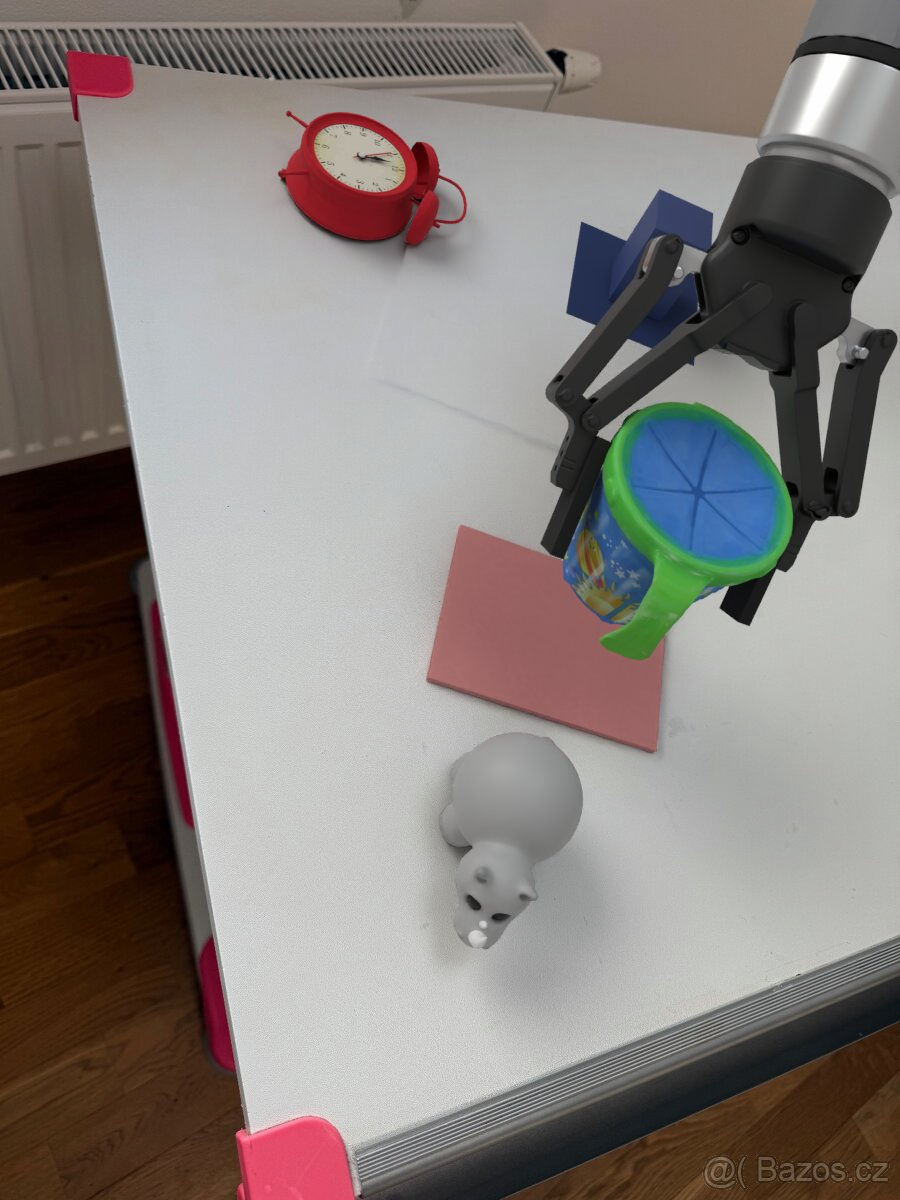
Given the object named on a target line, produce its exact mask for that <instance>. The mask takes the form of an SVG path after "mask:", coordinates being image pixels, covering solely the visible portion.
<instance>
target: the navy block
mask: <svg viewBox="0 0 900 1200" xmlns="http://www.w3.org/2000/svg"><path fill="white" fill-rule="evenodd" d="M713 225H714V213H713V212H711V211H710V210H708V209H706V208H703V207H701V206H698V205H696V204H694V203H692V202H689V201H688V200H685V199H683V198H681V197H679V196H677V195H674V194H672V193H669V192H667V191H665V190H664V189H661V188H659V189H658V191H657V192H656V193H655V195H654V197H653V199H652V200H651V201H650V203H649V205H648V206H647V208H646V209H645V211H644V212H643V214H642V215H641V217H640V219H639V220H638V222H637V224H636V225H635V227H634V228H633V230H632V232H631V233H630V235H629V236H628V238H627V239H626V240H625V241H626V243H625V244H624V246H623V247H622V249H621V251H620V252H619V254H618V255H617V257H616V258H615V260H614V262H613V269H612V276H611V284H610V291H609V299H608V300H609V301H612V302H615V301H616V300H617V299H618V297H619V296H620V295H621V294H622V292H623V291H624V290H625V289H626V288H627V286H628V285H629V284H630V283H631V281H632V280H633V279H634V277H635V274H636V271H637V269H638V266H639V263H640V260H641V258H642V255H643V252H644V250H645V247H646V245H647V243H648V242H649V241H650V240H651V239H653V238H657V237H660V236H663V235H668V234H677V235H679V236H680V237H681V239H682V240H683V244H685V245H688V246H690V247H693V248H695V249H698V250H700V251H703V252H705V251H706V250H707V249H708V248H709V247H710V246H711V245H712V244H713V228H714V227H713ZM693 277H694V276H693V273H689V274H688V275H687V276H686V277H685V278H684V280H683V281H682V282H681V283H680V284H679V285H677V286H670V287H668V288H667V290H666V291H665V293H664V294H663V296H662V297H661V299H660V300H659V301H658V303H657V304H656V305H655V306H654V307H653V309H652V310H651V311H650V312H649V314H648V315H647V316H648V317H650V318H652V319H655V320H657V321H661V320H662V319H663V317H664V316H665V315H666V313H667V312H668V310H669V309H670V308H671V306H672V305H673V304H674V302H675V301H676V300H677V298H678V297H679V296H680V294H681V293H682V291H683V290H684V289H685V287H686V286H687V285H688V283H689V282H690V281H691V279H692V278H693Z"/></svg>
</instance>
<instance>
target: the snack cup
mask: <svg viewBox="0 0 900 1200" xmlns="http://www.w3.org/2000/svg"><path fill="white" fill-rule="evenodd" d="M610 442H612V444H611V447H610V449H609V451H608V453H607V455H606V458H605V461H604V464H603V466H602V468H601V471H600V473H599V476H598V478H597V480H596V483H595V485H594V488H593V490H592V492H591V495H590V497H589V500H588V502H587V504H586V507H585V509H584V512H583V514H582V516H581V519H580V521H579V524H578V526H577V528H576V531H575V533H574V535H573V538H572V540H571V543H570V545H569V547H568V550H567V552H566V555H565V557H564V559H562V561H563V578H564V580H565V581H566V582H567V583H569V584H570V586H571V588H572V590H573V591H574V593H575V594H576V596H577V597H578V598H579V599H580V601H581V602H582V603H583V604H584V605H585V606H586V607H587V608H588V609H590V610H591V611H592V612H593V613H595V614H596V615H597V616H598V617H599V619H600V620H601V621H603V622H606V623H609V624H620V625H624V626H623V627H621V628H619V629H617V630H615V631H612V632H610V633H608V634H605V635H604V636H603V637H601V638H600V640H599V642H600V643H601V645H602V646H603V647H604V648H605V649H607V650H609V651H612V652H614V653H617V654H619V655H621V656H623V657H626V658H629V659H634V660H639V661H640V660H645V659H647V658H650V657H651V655H652V654H653V652H654V650H655V649H656V647H657V646H658V644H659V642H660V641H661V640H662V639H663V637H664V636H665V637H666V635H667V633H668V632H669V631H670V630H671V629H672V628H673V627H674V625H676V623H678V622H679V620H680V619H682V617H683V616H684V614H685V613H686V611H687V610H688V609H689V608H690V607H691V606H692V604H694V603H696V602H699V601H700V600H704V599H705V598H707V597H709V596H711V595H712V594H715V593H718V592H719V591H721V590H723V589H724V588H726V587H729V586H733V585H738V584H740V583H743V582H746V581H749V580H751V579H754V578H759V577H762V576H764V575H765V574H767V573H768V572H769V571H771V570H772V569H773V568H774V567H775V566H776V564H777V560H778V559H779V557H780V556H781V555H782V553H783V552H784V550H785V549H786V547H787V545H788V543H789V540H790V537H791V535H792V526H793V510H792V504H791V499H790V495H789V492H788V489H787V487H786V484H785V482H784V480H783V477H782V474H781V472H780V470H779V468H778V466H777V465H776V463H775V462H774V460H773V459H772V458H771V456H770V454H769V453H768V452H767V451H766V450H765V448H764V447H763V446H762V444H760V443H759V442H758V441H757V440H756V438H755V437H753V436H752V435H751V434H750V433H748V431H746V430H745V429H744V428H742V427H741V426H739V425H738V424H737V423H735V422H734V421H733V420H732V419H730V418H729V417H728V416H726V415H725V414H723V413H721V412H720V411H718V410H716V409H715V408H711V407H710V406H707V405H705V404H703V403H701V402H698V401H695V402H694V403H688V402H682V401H681V402H679V401H677V402H676V401H666V402H665V401H664V402H659V403H654V404H650V405H648V406H646V407H643V408H641V409H635V410H634V411H632V412H631V413H630V414H627V415H626V416H625V418H624V419H623V421H622V424H621V425H620V427H619V429H618V430H617V431H616V432H615V433H614V435H613V437H612V438H611V440H610Z"/></svg>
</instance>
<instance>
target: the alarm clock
mask: <svg viewBox="0 0 900 1200" xmlns="http://www.w3.org/2000/svg"><path fill="white" fill-rule="evenodd" d="M285 116H286V117H288V118H292V119H293V120H294V121H295V122H297V123H298V124H299V125H301V126H302V127H303V128H304V129H305V130H304V131H303V133H302V136H301V139H300V145H299V148H298V149H297V150H296V151H294V152H293V154H292V155H291V156H290V158H289V159H288V162H287V164H286V165H287V166H286V169H285V168H282V169H281V170H279V171H278V172H277V176H278V177H280V178H285V184H286V188H287V191H288V193H289V195H290V197H291V199H292V200H293V201H294V203H295V205H296V206H297V207H298V208H299V209H300V211H301V212H302V213H303V214H305V216H307V217H308V218H309V219H311V220H312V221H313V222H314V223H316V224H318V225H319V226H321V227H322V228H324V229H326V230H328V231H330V232H332V233H335V234H336V235H340V236H342V237H346V238H349V239H355V240H362V241H364V240H365V241H376V240H377V241H378V240H384V239H387V238H390V237H391V238H392V237H393V236H395V235H397V234H398V233H400V232H401V231H402V230H404V229H405V227H406V226H408V223H409V222H410V220H411V217H412V216H413V210H414V204H415V205H417V206H418V208H417V209H416V212H415V214H414V216H413V218H412V220H411V223H410V226H409V227H408V229H407V233H406V235H405V238H404V242H406V243H407V244H410V245H412V246H415V245H419V244H420V243H422V242H423V241H424V240H425V238H426V237H427V236H428V235H429V233H430V231H431V230H432V228H433V227H434V228H436V229H440V228H441V224H445V225H457V224H459V223H461V222H462V221H463V220H464V218H465V217H466V215H467V206H468V204H467V197H466V194H465V192H464V190H463V189H462V187H461V186H460V184H458V183H457V182H455V181H454V180H452V179H451V178H448V177H446V176H443V175H440V173H441V168H440V163H439V158H438V154H437V152H436V150H435V148H434V147H433V146H432V145H431V144H430V143H428V142H425V141H416V142H414V144H413V145H412V146H411V148H410V146H409V145H408V144H407V143H406V141H405V140H404V139H403V138H402V137H401V136H400V135H399V134H398V133H396V132H395V131H394V130H393V129H391V128H390V127H388V126H387V125H385V124H384V123H381V122H379V121H377V120H376V119H374V118H372V117H371V118H370V117H369V116H366V115H363V114H359V113H353V112H347V111H344V112H343V111H334V112H328V113H324V114H321V115H319V116H317V117H315V118H314V119H312V120H311V121H310V122H309V124H308V123H306V122H305V121H303V120H301V119H300V118H298V117H296V116H295V115H294V114H293V113H292V111H291V110H286V112H285ZM439 179H440V180H442V181H445V182H447V183H449V184H450V185H452V186H454V187H455V188H456V189H457V190H458V191H459V193H460V195H461V197H462V204H463V210H462V214H461V216H460V217H458V218H457V219H453V220H447V219H439V218H437V216H438V212H439V208H440V199H439V196H438V195H437V193H435V190H436V187H437V185H438V182H439ZM413 197H414V198H415V199H414V198H413ZM418 199H420V200H421V202H419V201H418Z"/></svg>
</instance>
